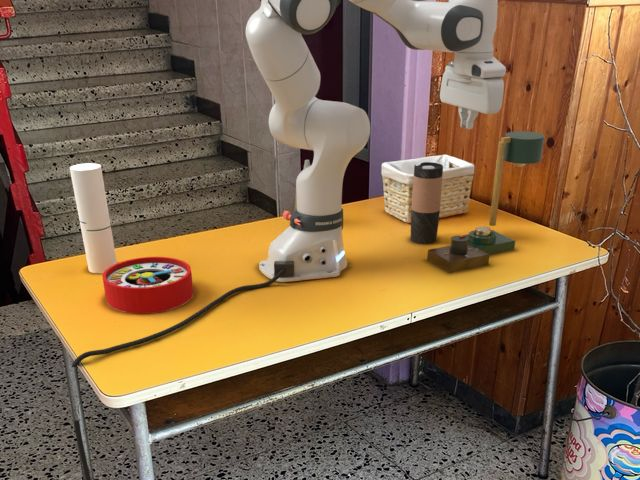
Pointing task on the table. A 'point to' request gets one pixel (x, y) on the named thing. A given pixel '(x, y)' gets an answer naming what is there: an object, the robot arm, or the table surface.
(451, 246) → the dimmer knob
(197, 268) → the table surface
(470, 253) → the dimmer
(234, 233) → the table surface
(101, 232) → the cylindrical container
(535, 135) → the desk lamp
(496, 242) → the lamp base
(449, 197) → the basket
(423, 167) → the travel mug
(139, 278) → the toy clock
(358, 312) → the table surface
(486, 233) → the power button
